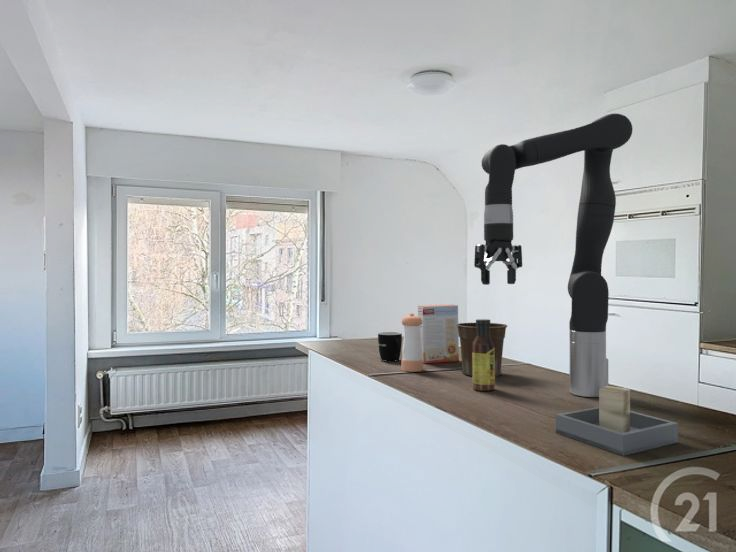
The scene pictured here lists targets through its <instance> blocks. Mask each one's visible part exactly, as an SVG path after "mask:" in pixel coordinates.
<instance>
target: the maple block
mask: <svg viewBox="0 0 736 552" xmlns="http://www.w3.org/2000/svg"><path fill="white" fill-rule="evenodd" d="M598 407H599V426H601V427H604V428H607V429H611V430H614V431H617V432H620V433H624V432H629V431H630V411H631V388H626V387H619V386H612V385H608V386H605V387H603V388H601V389H599V397H598Z"/></svg>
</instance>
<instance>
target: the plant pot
mask: <svg viewBox="0 0 736 552" xmlns="http://www.w3.org/2000/svg"><path fill="white" fill-rule="evenodd" d="M456 326H457V327H458V335H459V345H460V355H461V356H460V357H461V370H462V373H463V374H464V375H465V376H469V377H470V376H471V377H473V370H472V352H473V341H474V339H475V338H476V336H477V334H476V332H477V326H476V322H460V323H459V322H458V324H456ZM507 328H508V325H507V324H504V323H497V322H496V323H495V322H490V336H491V339H492V342H493V344H494V347H495V377H497V376H500V375H501V374H502V373H501V372H502V362H503V351H504V350H503V349H504V342H505V341H504V340H505V338H506V330H507Z"/></svg>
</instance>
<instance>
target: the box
mask: <svg viewBox="0 0 736 552" xmlns="http://www.w3.org/2000/svg"><path fill="white" fill-rule="evenodd" d="M555 433H556V434H559V435H562V436H565V437H566V438H571V439H573V440H575V441H579V442H582V443H584V444H588V445H591V446H593V447H595V448H596V447H597V448H599V449H602V450H604V451H608V452H610V453H614V454H616V455H619V456H622V457H624V456H628V455H633V454H637V453H640V452H646V451H648V450H652V449H653V450H654V449H657V448H661V447H666V446H669V445H673V444H677V443H679V423H678V422H676V421H675V422H674V421H671V420H667V419H664V418H659V417H657V416H652V415H648V414H644V413H640V412H636V411H633V410H630V431H629V432H624V433H620V432H617V431H614V430H611V429H607V428H604V427H601V426H599V406H595V407H590V408H584V409H580V410H573V411H567V412H562V413H556V414H555Z"/></svg>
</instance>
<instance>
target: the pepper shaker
mask: <svg viewBox="0 0 736 552" xmlns="http://www.w3.org/2000/svg"><path fill="white" fill-rule="evenodd" d="M401 324H402V326H403V340H402V347H401V351H402V358H401V367H400V368H401V371H403V372H408V373H409V372H410V373H413V372H414V373H415V372H422V371H423V370H424V363H423V360H422V347H421V341H420V325H421V324H422V319H421V318H420V317H418V315H415V314H414V313H409V315H406V316H404V317H402V318H401Z"/></svg>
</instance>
